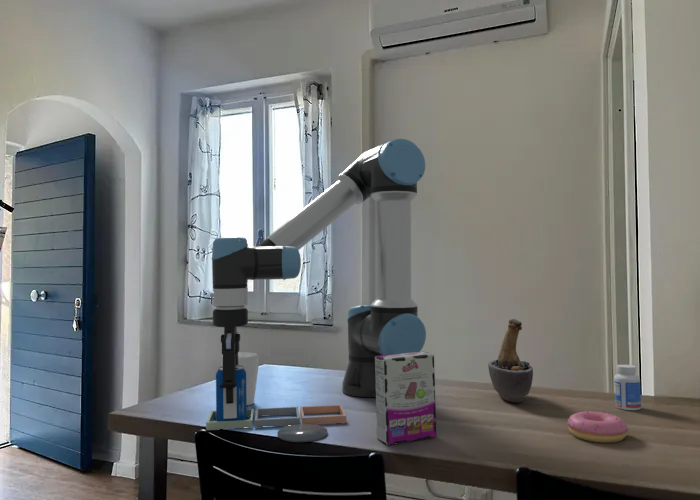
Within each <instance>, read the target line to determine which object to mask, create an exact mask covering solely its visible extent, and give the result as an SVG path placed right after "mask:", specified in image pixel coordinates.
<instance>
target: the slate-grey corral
mask: <svg viewBox="0 0 700 500" xmlns="http://www.w3.org/2000/svg"><path fill="white" fill-rule="evenodd" d="M262 415H274V416H285V415H286V416H288V415H290V416H291V415H294V416H295V417H281V418H278V417H277V418H261V419H260V418H259V417H263V416H262ZM299 424H301V415H300V409H299V407H298V406H289V407H288V406H287V407H285V406H283V407H265V408H261V407H260V408H256V409H255V413H254V428H255V427H262V428H264V427H263V426H282V427H287V426H288V425H299Z"/></svg>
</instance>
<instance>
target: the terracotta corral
mask: <svg viewBox="0 0 700 500" xmlns="http://www.w3.org/2000/svg"><path fill="white" fill-rule="evenodd" d="M330 413H331V414H332V413H338V414H339V415H321V416H305V415H310V414H311V415H312V414H314V415H315V414H330ZM346 414H347V413H346V412H345V410H344V408H343V406H342V404H332V405H331V404H328V405H308V406H300V407H299V416H300V422H301V424H312V425H318V424H321V425H335V424H336V423H341V424H347V415H346Z"/></svg>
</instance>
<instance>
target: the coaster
mask: <svg viewBox="0 0 700 500" xmlns="http://www.w3.org/2000/svg"><path fill="white" fill-rule="evenodd" d="M326 435H328V429H327V428H326V427H324V426H322V425H312V424H302V423H300V424H299V425H291V426H283V427H281V428H279V429H278V431H277V438H278V437H279V438H278V439H280V440H282V441H284V442H289V443H290V442H291V443H309V442H316V441H319V439H320V440H322V439H324V438H326V437H327V436H326ZM325 436H326V437H325Z"/></svg>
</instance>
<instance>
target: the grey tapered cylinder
mask: <svg viewBox="0 0 700 500" xmlns="http://www.w3.org/2000/svg"><path fill="white" fill-rule="evenodd" d="M258 354H259V353H256V352H253V351H251V352H250V351H249V352H247V351H243V352H241V351H239V352H238V365H242V366H244V370H245V371H246V406H247V405H248V406H250V405H252V404H254V403H255V397H256V396H255V395H256V390H257V380H258V374H259V355H258ZM221 366H223V355H222V354H221ZM248 406H247V407H248Z"/></svg>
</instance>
